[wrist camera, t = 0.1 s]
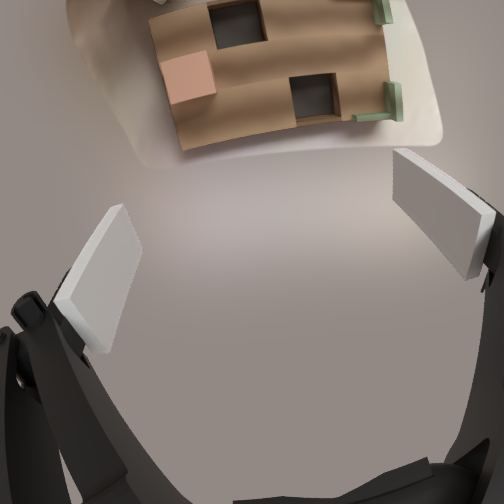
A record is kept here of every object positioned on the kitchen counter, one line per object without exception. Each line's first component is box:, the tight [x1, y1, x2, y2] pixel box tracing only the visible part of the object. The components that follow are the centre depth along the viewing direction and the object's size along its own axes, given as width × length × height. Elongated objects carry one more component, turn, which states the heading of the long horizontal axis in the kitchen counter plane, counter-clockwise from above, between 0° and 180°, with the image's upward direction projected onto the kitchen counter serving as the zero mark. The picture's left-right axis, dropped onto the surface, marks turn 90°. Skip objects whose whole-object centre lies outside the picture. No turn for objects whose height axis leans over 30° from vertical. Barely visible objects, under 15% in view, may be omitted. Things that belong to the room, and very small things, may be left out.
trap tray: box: [148, 0, 403, 151], centre depth 30 cm, size 18×28×6 cm, turn 101°
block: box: [160, 50, 217, 104], centre depth 29 cm, size 5×5×4 cm
